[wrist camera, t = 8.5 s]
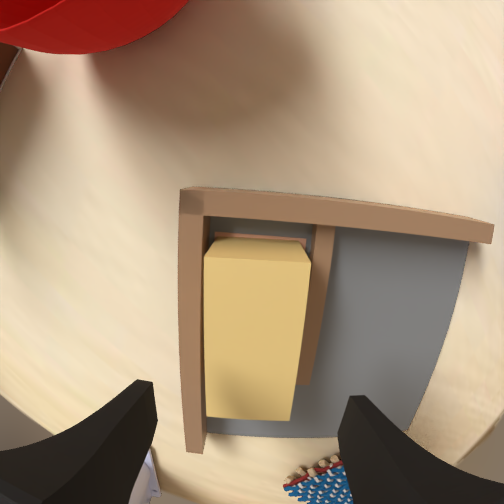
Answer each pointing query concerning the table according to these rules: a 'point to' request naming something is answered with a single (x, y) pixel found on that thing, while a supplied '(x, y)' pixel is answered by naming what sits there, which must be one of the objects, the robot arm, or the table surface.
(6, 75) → the food container
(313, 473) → the woven mat
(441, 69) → the table surface
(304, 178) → the table surface
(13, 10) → the ceramic cup
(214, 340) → the ochre block
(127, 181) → the table surface
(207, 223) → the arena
